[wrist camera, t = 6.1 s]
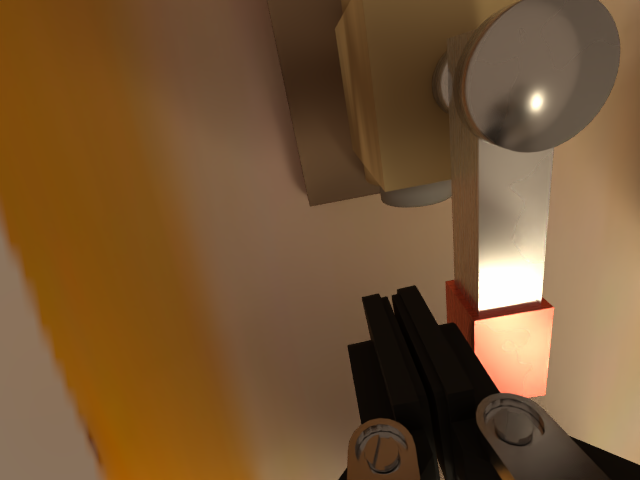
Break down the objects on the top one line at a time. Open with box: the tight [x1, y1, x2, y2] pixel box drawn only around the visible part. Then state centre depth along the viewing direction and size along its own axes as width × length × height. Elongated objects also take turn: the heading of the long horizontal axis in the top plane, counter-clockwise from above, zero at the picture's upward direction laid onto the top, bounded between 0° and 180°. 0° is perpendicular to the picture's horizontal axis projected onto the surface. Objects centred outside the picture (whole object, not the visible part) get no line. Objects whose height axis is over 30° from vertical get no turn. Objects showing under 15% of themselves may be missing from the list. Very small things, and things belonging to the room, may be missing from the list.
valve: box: [267, 0, 521, 207], centre depth 14 cm, size 10×10×9 cm
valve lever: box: [432, 0, 620, 398], centre depth 9 cm, size 10×3×3 cm, turn 10°
